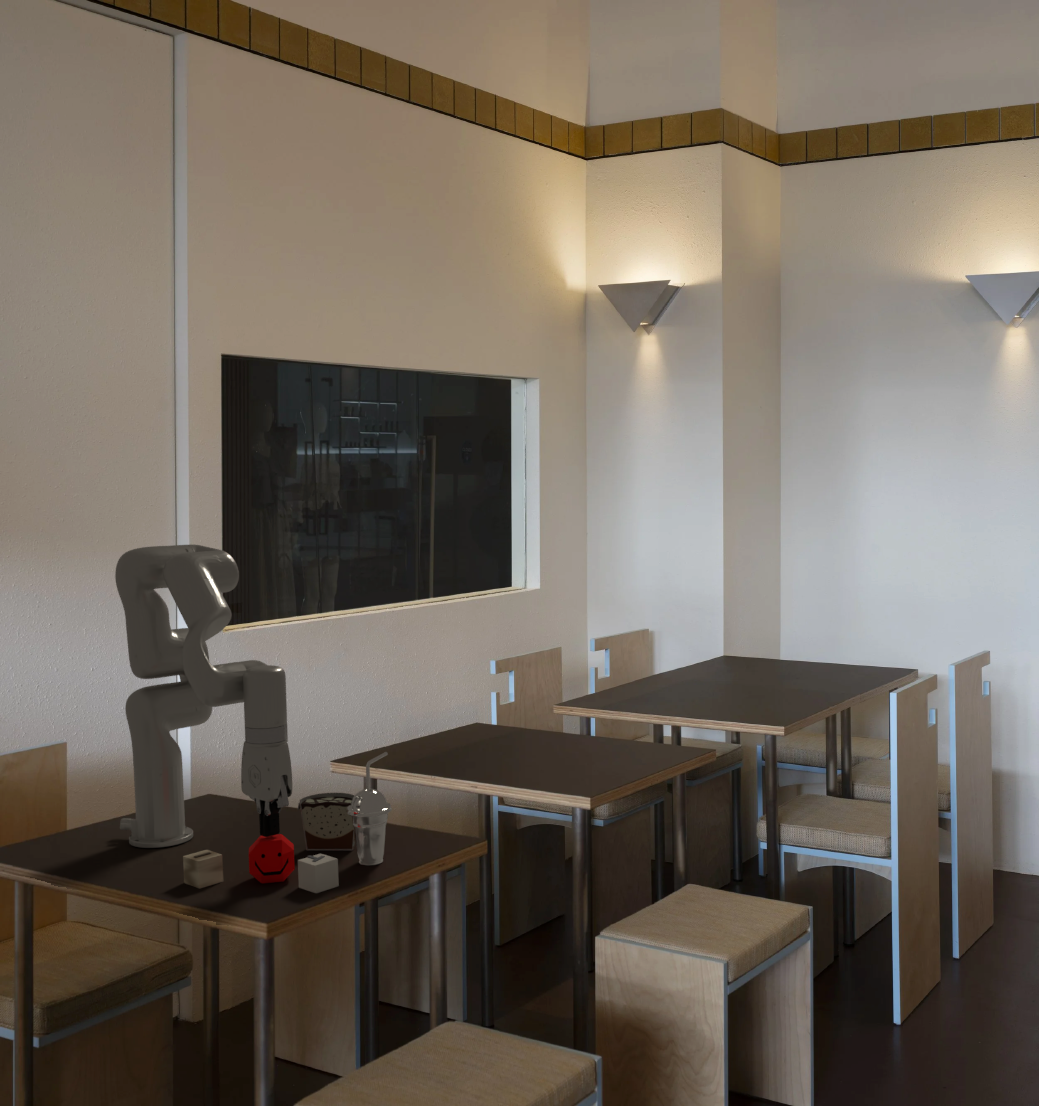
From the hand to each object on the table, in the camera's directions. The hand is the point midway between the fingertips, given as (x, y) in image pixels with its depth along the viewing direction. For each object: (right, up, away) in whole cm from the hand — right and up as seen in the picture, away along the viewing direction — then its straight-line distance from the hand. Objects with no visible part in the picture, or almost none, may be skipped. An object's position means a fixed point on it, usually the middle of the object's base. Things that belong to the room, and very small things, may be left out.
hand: (269, 834), depth 221 cm
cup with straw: (+18, -7, +9) cm, 21 cm away
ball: (0, -8, 0) cm, 8 cm away
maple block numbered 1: (-12, -9, 0) cm, 15 cm away
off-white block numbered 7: (+10, -8, -5) cm, 14 cm away
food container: (+9, -7, +20) cm, 23 cm away
